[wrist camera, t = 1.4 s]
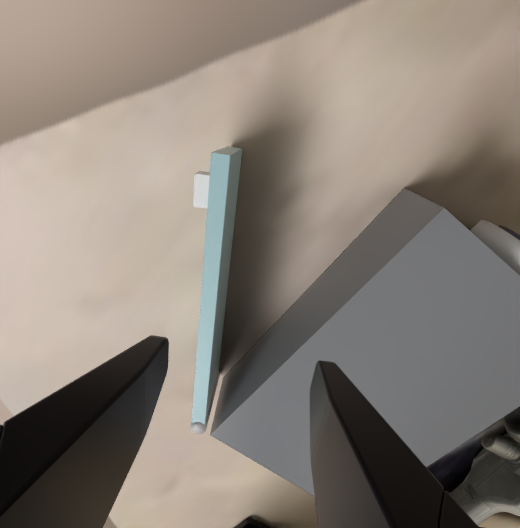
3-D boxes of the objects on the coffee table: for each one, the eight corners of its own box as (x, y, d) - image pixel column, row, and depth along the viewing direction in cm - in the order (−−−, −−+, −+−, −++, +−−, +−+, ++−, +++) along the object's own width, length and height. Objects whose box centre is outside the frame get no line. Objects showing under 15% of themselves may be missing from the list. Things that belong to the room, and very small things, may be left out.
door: (218, 379, 25) (205, 435, 20) (194, 375, 25) (174, 430, 20) (244, 148, 18) (232, 155, 14) (210, 143, 18) (187, 149, 14)
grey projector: (337, 450, 27) (350, 523, 22) (223, 377, 25) (208, 440, 20) (554, 285, 20) (642, 337, 15) (424, 166, 18) (478, 181, 13)
